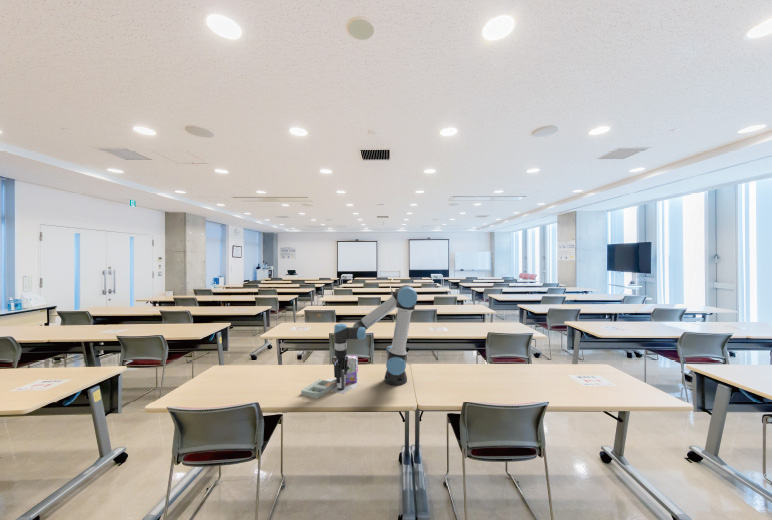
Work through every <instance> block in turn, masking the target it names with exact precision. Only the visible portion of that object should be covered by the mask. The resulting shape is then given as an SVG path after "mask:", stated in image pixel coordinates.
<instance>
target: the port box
mask: <svg viewBox="0 0 772 520" xmlns="http://www.w3.org/2000/svg"><path fill="white" fill-rule="evenodd" d="M335 382H336V381H332V380H331V381H330V380H325V379H318V380H316V381H314V382H313V383H311V384H310V385H308V386H306V387H305V388H303V389H301V390H300V391H301V392H300V393H301V396H305V397H311V398H313V399H314V398H315V399H319V398H320V397H322V396H323V395H324V394H326V393H328V392H330V391H331V390H332V389H334V388H335V387H336V383H335Z"/></svg>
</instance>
